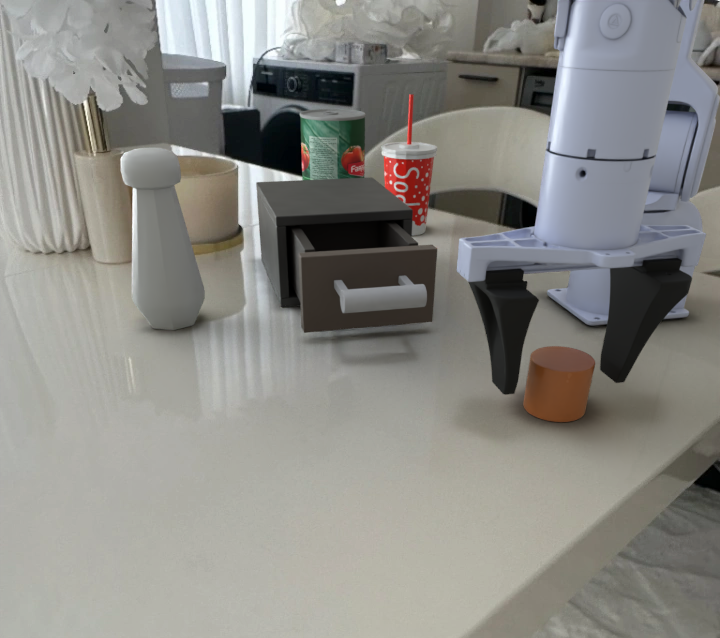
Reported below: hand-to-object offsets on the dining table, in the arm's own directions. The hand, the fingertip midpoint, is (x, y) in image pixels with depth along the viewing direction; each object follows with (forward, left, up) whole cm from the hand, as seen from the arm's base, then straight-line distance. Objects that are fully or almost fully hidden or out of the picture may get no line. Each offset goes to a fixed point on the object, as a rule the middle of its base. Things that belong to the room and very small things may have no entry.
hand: (558, 381), depth 46 cm
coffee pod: (0, 0, -2) cm, 2 cm away
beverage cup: (-3, -44, -2) cm, 44 cm away
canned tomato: (+3, -56, -2) cm, 56 cm away
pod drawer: (+9, -18, -1) cm, 20 cm away
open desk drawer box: (+9, -29, -2) cm, 30 cm away
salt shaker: (+24, -21, -2) cm, 32 cm away
